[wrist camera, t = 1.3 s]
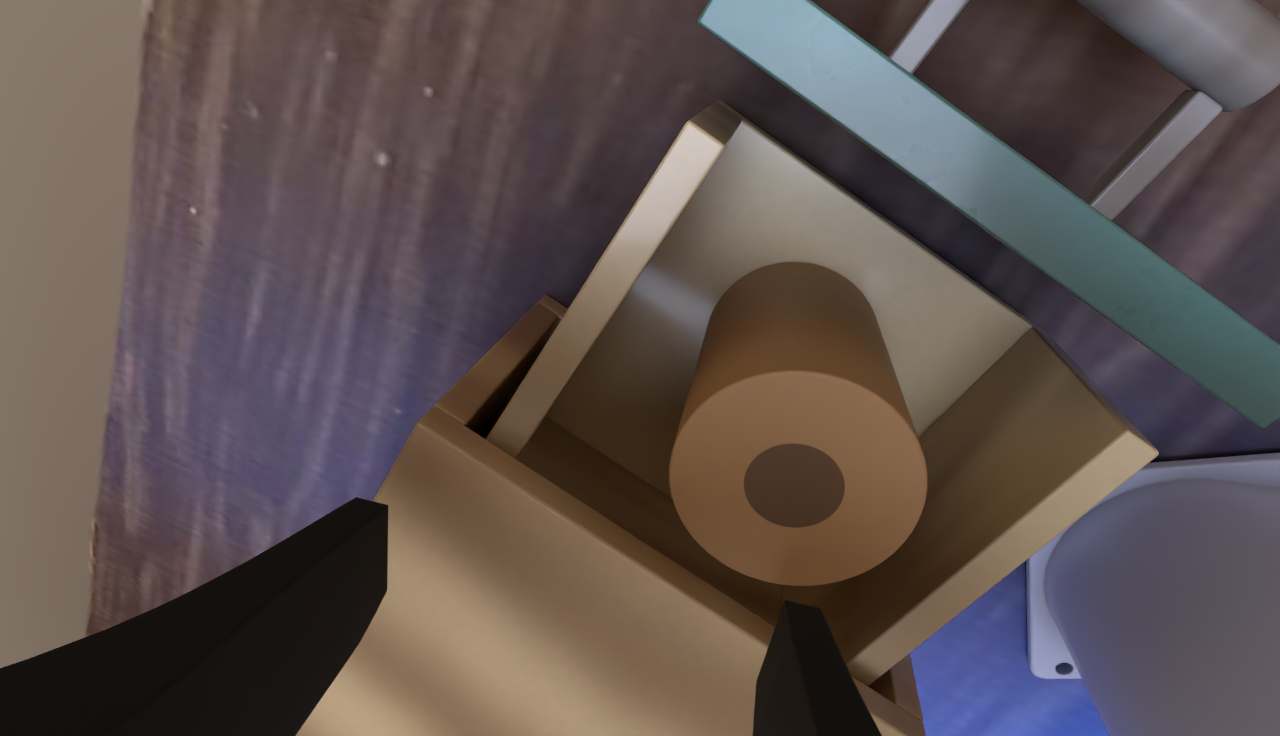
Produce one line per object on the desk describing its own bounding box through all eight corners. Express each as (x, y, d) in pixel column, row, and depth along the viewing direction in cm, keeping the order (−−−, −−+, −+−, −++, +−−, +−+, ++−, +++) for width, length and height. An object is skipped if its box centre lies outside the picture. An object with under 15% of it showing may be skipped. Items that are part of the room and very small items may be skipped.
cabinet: (545, 292, 22) (416, 421, 14) (882, 518, 23) (931, 752, 15) (375, 573, 28) (222, 768, 21) (644, 740, 29) (594, 985, 22)
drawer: (876, -207, 15) (940, -388, 9) (1299, 119, 16) (1623, 159, 10) (504, 391, 23) (401, 515, 17) (803, 586, 24) (811, 773, 17)
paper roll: (871, 247, 18) (919, 354, 11) (886, 410, 19) (936, 582, 13) (691, 276, 19) (645, 388, 12) (721, 427, 20) (693, 592, 14)
